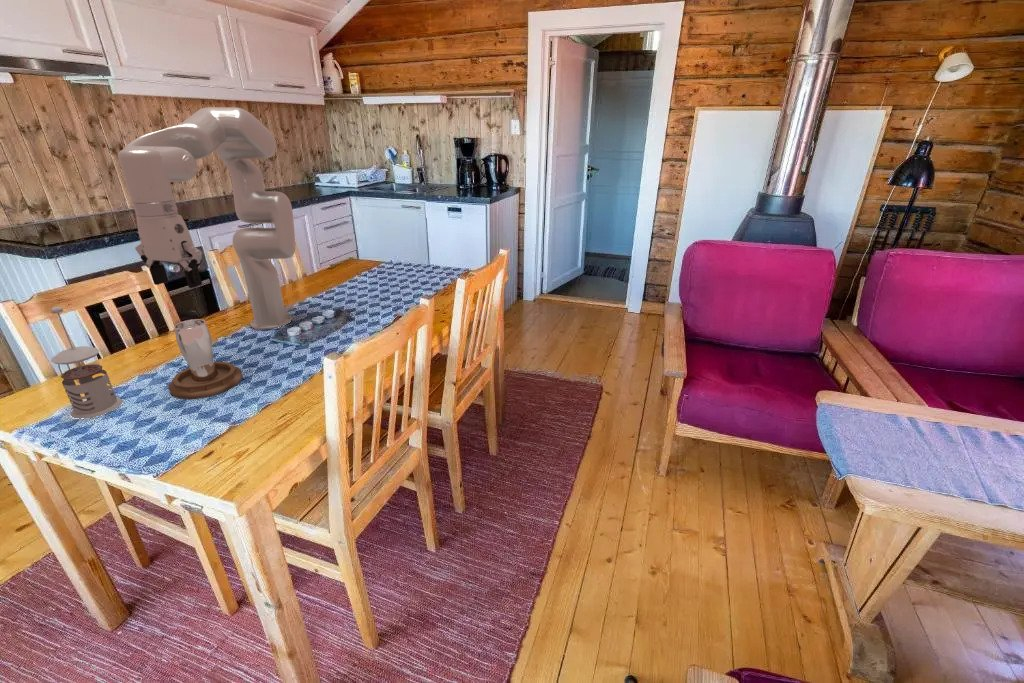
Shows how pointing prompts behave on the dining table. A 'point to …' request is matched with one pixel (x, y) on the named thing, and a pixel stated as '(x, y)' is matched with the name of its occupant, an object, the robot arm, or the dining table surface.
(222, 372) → the round tray
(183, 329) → the beer glass
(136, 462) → the dining table surface
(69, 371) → the french press
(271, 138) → the robot arm
